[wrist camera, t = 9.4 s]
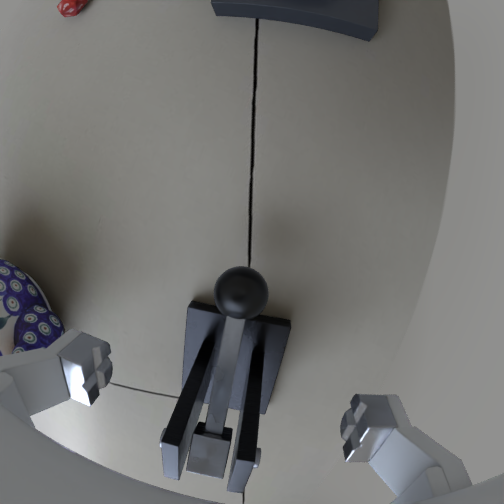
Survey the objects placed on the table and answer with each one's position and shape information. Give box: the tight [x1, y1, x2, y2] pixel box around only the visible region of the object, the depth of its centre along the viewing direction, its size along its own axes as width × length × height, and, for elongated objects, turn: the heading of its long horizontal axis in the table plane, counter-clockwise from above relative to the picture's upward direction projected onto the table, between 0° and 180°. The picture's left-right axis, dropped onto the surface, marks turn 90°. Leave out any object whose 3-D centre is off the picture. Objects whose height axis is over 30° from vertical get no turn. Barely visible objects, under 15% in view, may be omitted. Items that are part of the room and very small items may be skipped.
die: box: [57, 0, 88, 17], centre depth 15 cm, size 3×3×3 cm
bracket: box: [160, 301, 291, 493], centre depth 18 cm, size 10×8×12 cm
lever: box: [186, 266, 269, 479], centre depth 16 cm, size 13×3×3 cm, turn 169°
